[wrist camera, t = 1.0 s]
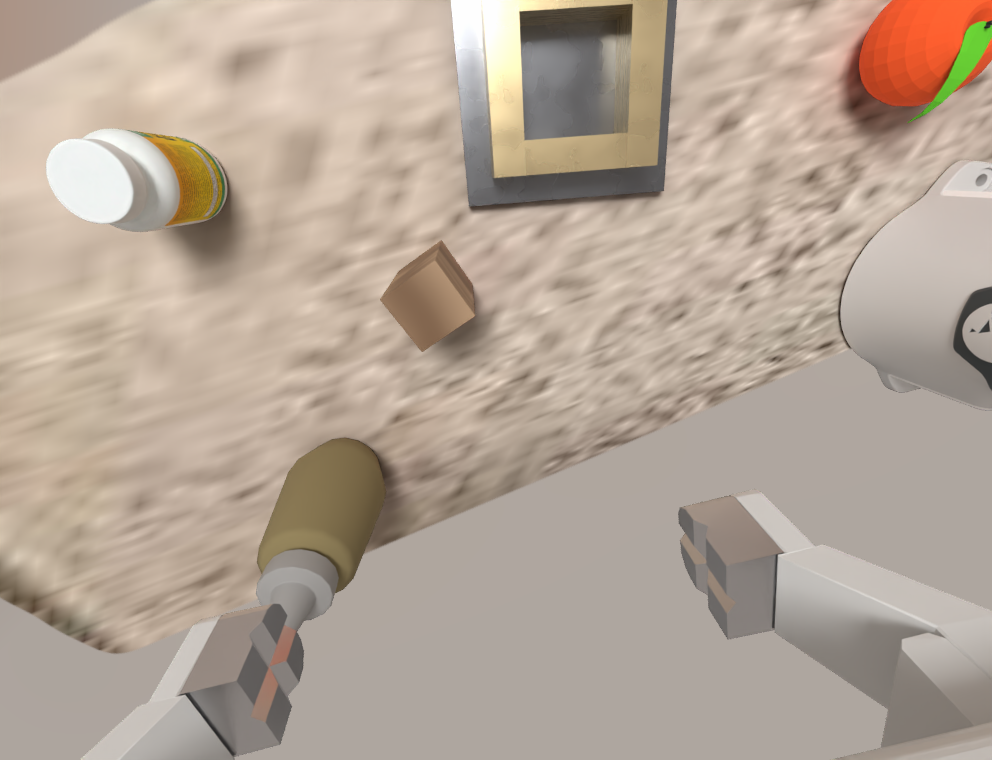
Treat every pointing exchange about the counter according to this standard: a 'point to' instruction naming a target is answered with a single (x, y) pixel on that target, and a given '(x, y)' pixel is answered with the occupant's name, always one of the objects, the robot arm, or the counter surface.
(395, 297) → the peg
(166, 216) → the supplement bottle
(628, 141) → the collar
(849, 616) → the robot arm
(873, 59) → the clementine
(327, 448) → the squeeze bottle
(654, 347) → the counter surface
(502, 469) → the counter surface
